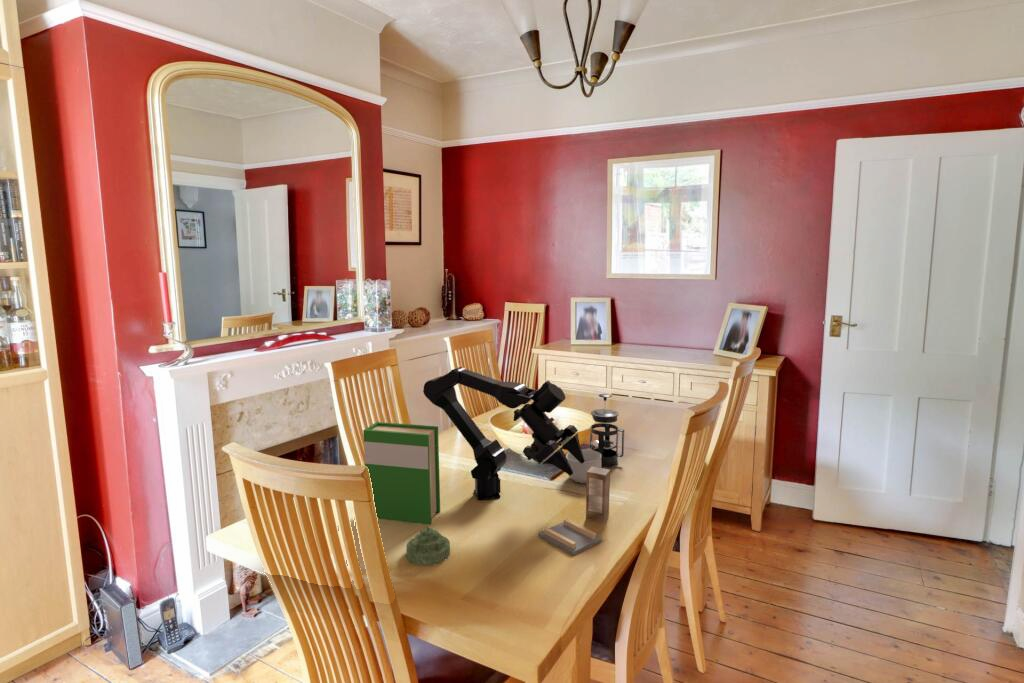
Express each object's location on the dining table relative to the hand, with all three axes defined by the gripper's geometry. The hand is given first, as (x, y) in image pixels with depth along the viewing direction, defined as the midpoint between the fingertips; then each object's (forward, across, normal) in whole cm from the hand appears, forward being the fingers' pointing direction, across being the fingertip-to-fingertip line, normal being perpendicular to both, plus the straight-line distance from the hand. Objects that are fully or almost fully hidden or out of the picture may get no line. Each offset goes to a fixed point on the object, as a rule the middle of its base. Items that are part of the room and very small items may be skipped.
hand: (577, 468), depth 154 cm
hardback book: (-20, +20, -38) cm, 48 cm away
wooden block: (+13, 0, -5) cm, 14 cm away
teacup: (+5, -24, -13) cm, 28 cm away
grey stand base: (+11, +14, -7) cm, 19 cm away
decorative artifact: (-8, +34, -27) cm, 44 cm away
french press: (+6, -39, -12) cm, 41 cm away
